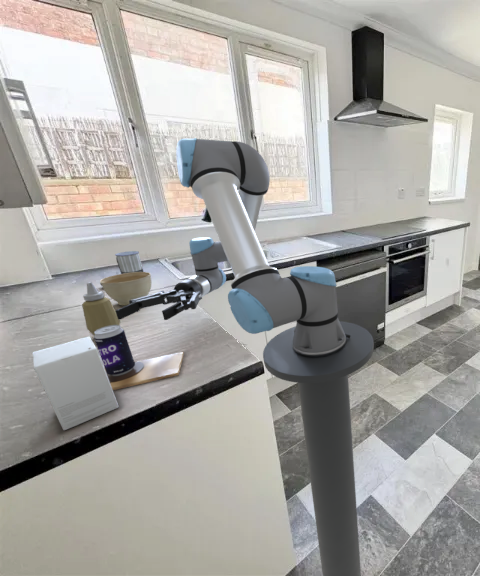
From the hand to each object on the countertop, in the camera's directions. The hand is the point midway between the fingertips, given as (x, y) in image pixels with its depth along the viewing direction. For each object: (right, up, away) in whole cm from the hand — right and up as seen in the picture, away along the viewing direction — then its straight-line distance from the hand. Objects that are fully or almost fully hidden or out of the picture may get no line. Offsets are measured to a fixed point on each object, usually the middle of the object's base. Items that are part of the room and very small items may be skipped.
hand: (140, 315), depth 84 cm
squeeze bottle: (-23, -8, +16) cm, 30 cm away
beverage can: (-1, -14, -5) cm, 15 cm away
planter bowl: (-38, +2, +44) cm, 58 cm away
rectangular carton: (+2, -19, -17) cm, 26 cm away
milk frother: (-61, +9, +67) cm, 91 cm away
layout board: (+3, -15, -5) cm, 16 cm away
